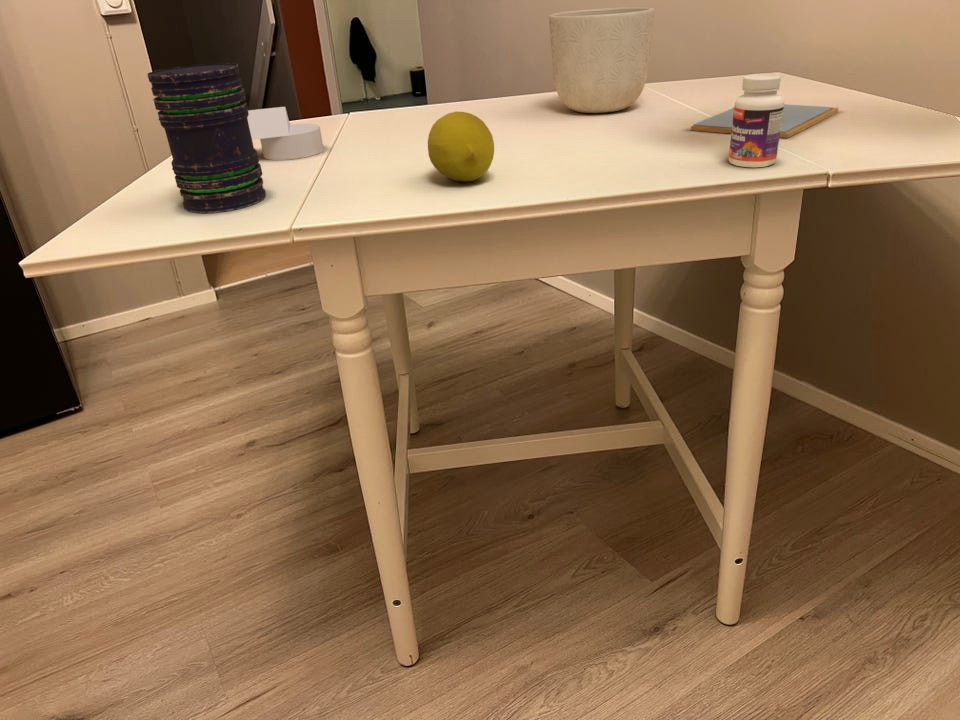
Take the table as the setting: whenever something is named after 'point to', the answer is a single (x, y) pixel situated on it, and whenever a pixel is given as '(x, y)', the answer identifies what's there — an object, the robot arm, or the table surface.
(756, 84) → the pill bottle
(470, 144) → the lemon
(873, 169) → the table surface
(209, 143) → the storage jar
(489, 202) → the table surface
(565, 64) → the planter
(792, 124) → the board
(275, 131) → the wedge on round base
